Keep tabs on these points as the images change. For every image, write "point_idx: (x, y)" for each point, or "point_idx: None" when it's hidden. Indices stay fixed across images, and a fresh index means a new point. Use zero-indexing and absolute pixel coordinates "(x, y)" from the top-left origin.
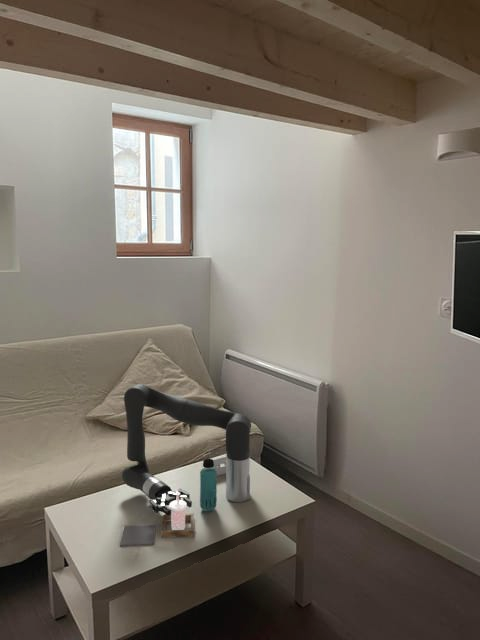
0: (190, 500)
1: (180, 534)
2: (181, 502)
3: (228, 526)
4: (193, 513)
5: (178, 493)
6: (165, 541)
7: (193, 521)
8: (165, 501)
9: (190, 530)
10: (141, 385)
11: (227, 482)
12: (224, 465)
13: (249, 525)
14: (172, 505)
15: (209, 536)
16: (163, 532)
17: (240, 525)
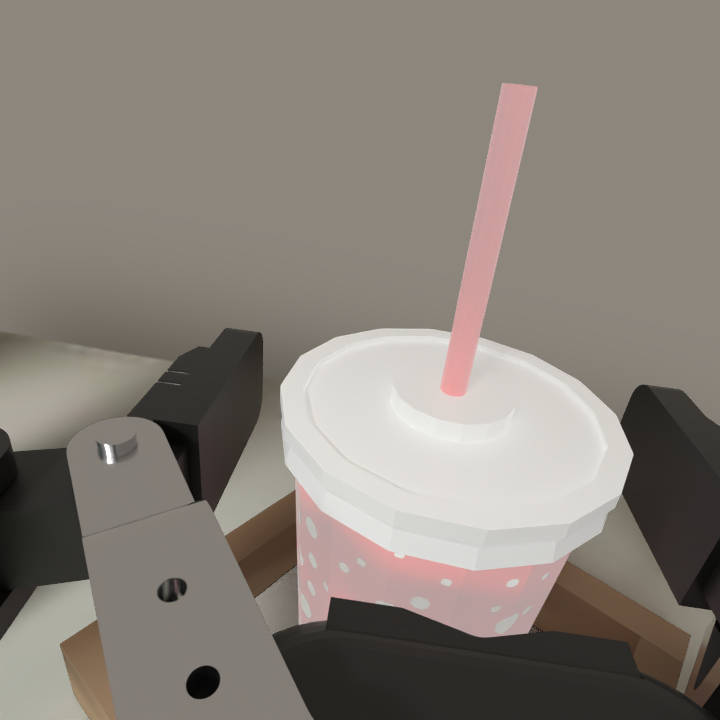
0: (176, 366)
1: None
2: (348, 408)
3: (82, 398)
4: (64, 643)
5: (500, 145)
6: (629, 598)
7: (245, 525)
8: (697, 713)
9: None
10: None
11: None
12: None
13: (12, 339)
14: (560, 446)
15: (277, 419)
16: (662, 620)
17: (33, 364)
